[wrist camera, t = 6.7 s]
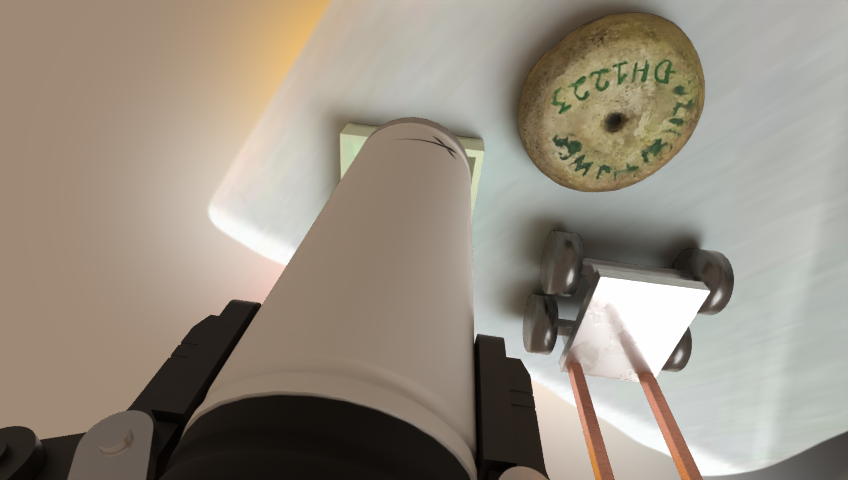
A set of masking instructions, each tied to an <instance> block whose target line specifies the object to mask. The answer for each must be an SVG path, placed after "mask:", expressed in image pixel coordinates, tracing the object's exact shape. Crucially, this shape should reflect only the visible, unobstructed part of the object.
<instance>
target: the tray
mask: <svg viewBox="0 0 848 480" xmlns="http://www.w3.org/2000/svg"><path fill="white" fill-rule="evenodd" d="M378 128H379V126H371V125H363V124H354V123H348V124H347V126H346V127H345V128H344V129H343V130H342V132H341V133H340V164H341V179H342V177H343V176H344V174H345V173H346V171H347V170H348V168H349V166H350V165H351V163H352V162H353V160H354V158H355V157H356V155H357V154H358V152H359V151H360V149H361V147H362V146H363V144H364V143H365V141H366V140H367V139H368V137H369V136H370V135H371V134H372V133H373V132H374V131H375V130H376V129H378ZM456 137H457V139H458V140H459V141H460V143H461V144H462V145H463V147H464V149H465V151H466V154H467V156H468V159H469V164H470V175H471V220H472V217H473V211H474V206H475V200H476V195H477V189H478V184H479V178H480V173H481V167H482V162H483V157H484V141H483V139H477V138H469V137H461V136H456Z"/></svg>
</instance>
